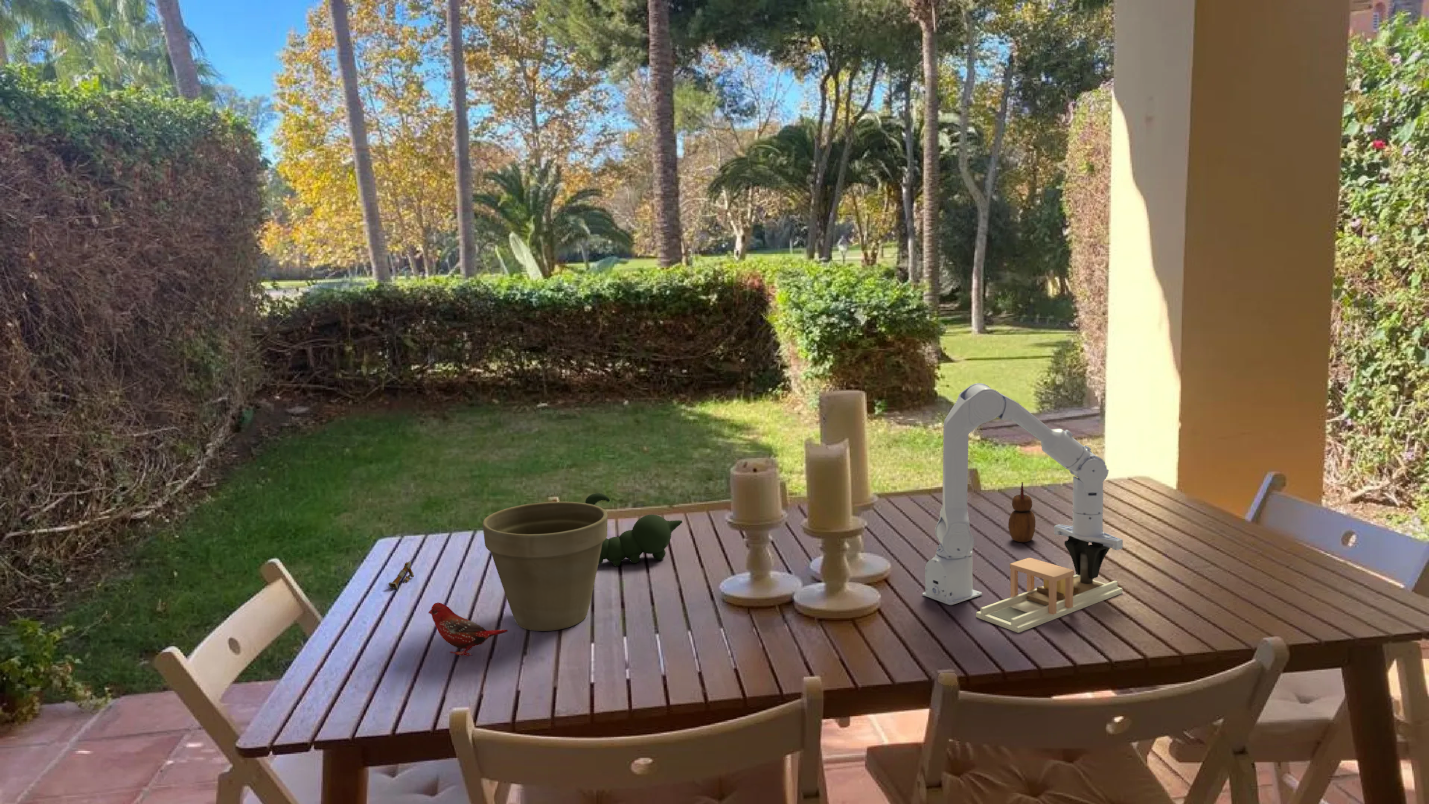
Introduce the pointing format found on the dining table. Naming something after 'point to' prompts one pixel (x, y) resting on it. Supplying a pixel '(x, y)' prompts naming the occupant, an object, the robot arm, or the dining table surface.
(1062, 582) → the block
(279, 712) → the dining table surface
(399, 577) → the wooden post with brackets
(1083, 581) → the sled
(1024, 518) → the wooden figurine
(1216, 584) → the dining table surface
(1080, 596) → the track
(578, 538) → the plant pot
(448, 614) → the decorative bird figurine
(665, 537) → the toy figurine
